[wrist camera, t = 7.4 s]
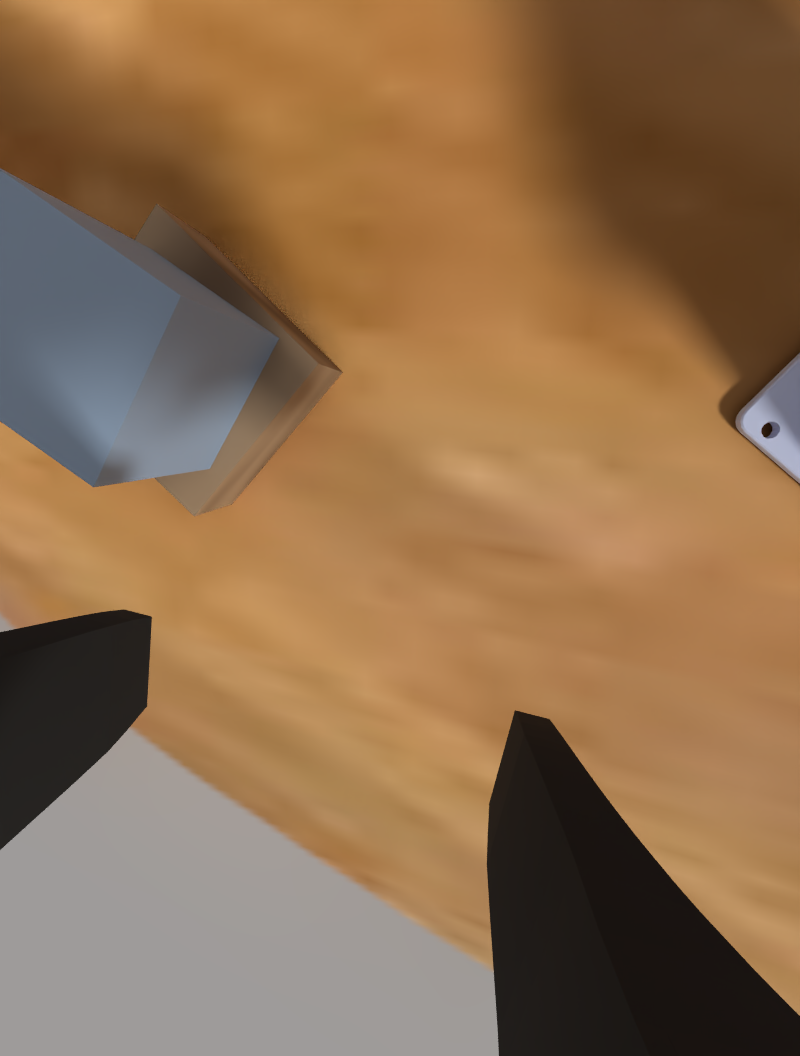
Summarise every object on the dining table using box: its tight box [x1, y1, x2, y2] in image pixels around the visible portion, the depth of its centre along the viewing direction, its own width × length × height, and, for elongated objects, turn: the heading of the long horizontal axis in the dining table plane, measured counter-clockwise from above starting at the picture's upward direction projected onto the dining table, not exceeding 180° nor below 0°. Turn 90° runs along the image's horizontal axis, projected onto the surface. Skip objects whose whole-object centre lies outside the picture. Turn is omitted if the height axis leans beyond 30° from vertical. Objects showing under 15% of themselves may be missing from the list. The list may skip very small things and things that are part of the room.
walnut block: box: [134, 204, 343, 516], centre depth 17 cm, size 7×7×3 cm
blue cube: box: [0, 168, 279, 487], centre depth 13 cm, size 5×5×5 cm
